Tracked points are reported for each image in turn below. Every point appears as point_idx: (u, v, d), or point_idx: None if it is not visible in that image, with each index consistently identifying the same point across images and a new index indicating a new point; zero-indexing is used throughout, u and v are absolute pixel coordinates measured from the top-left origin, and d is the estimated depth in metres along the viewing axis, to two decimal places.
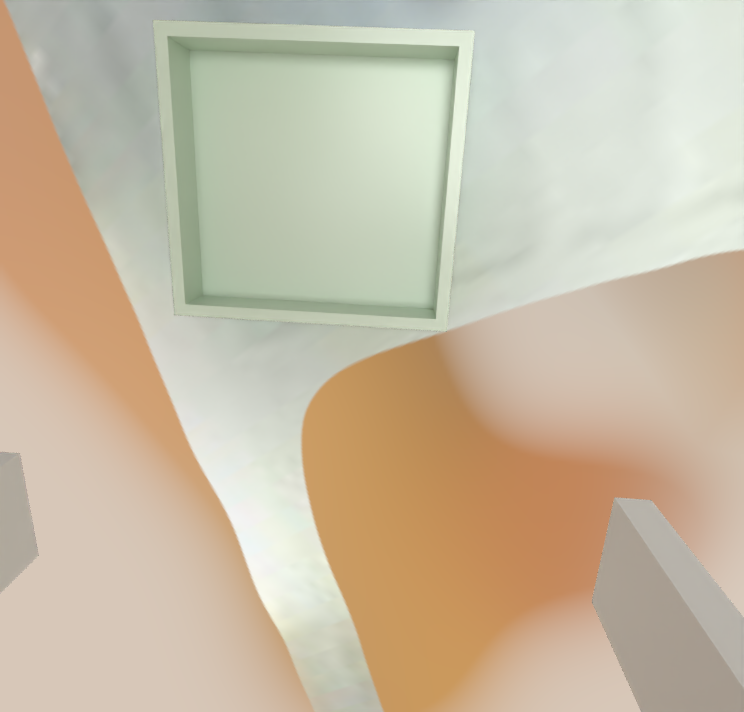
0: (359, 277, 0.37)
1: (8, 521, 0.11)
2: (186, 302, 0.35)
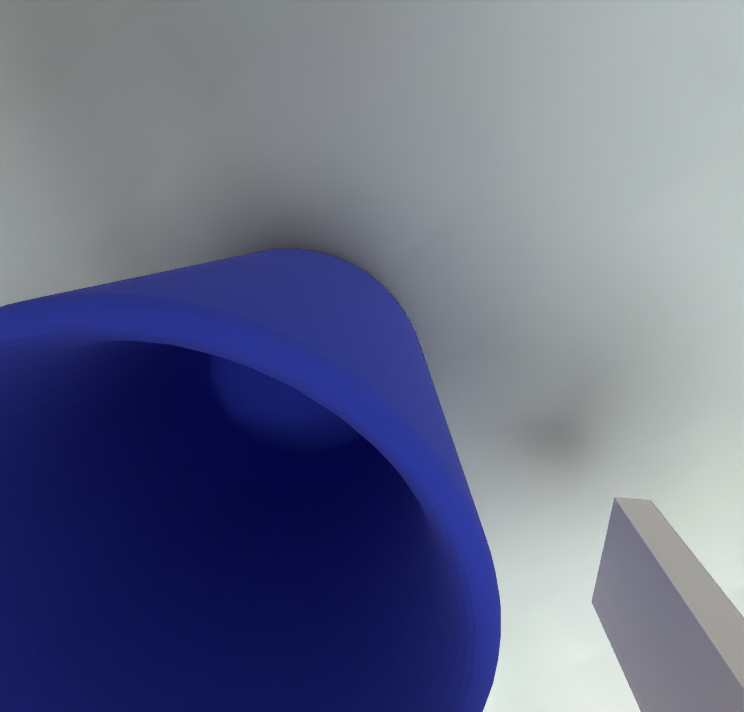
0: None
1: None
2: None
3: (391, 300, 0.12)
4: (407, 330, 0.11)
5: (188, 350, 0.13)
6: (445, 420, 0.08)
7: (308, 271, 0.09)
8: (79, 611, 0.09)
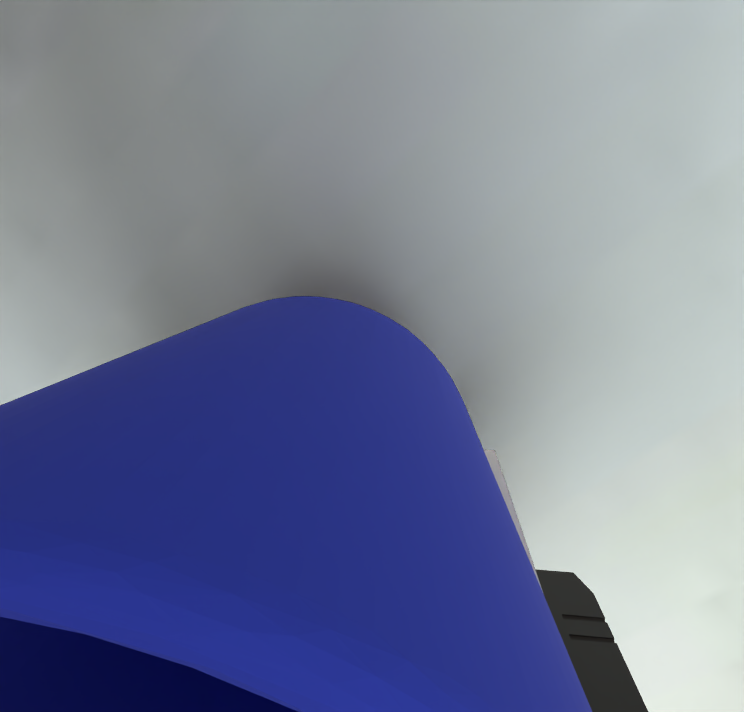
0: None
1: None
2: None
3: (441, 371, 0.09)
4: (468, 422, 0.08)
5: None
6: None
7: (344, 353, 0.07)
8: None
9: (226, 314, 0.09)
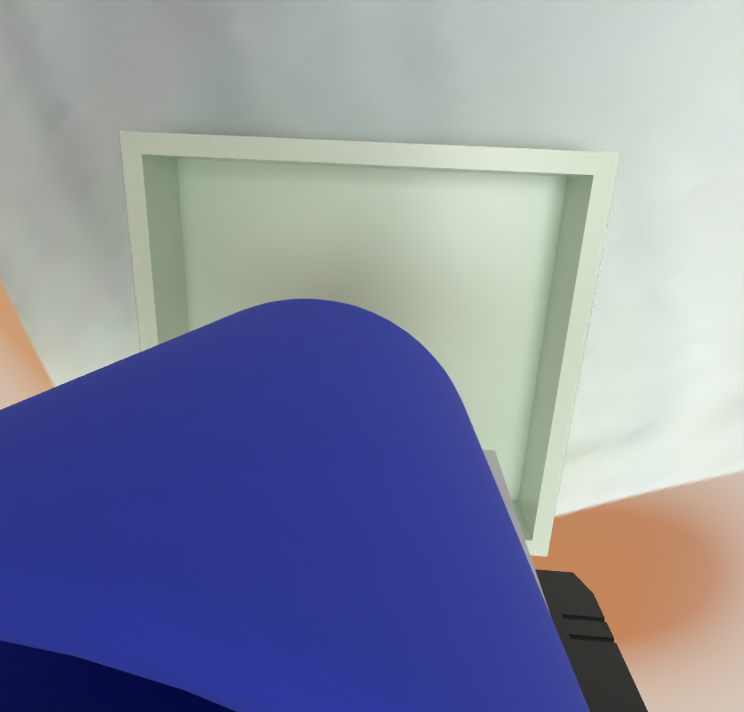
0: None
1: None
2: None
3: (441, 374, 0.09)
4: (468, 427, 0.08)
5: None
6: None
7: (344, 357, 0.06)
8: None
9: (225, 317, 0.09)
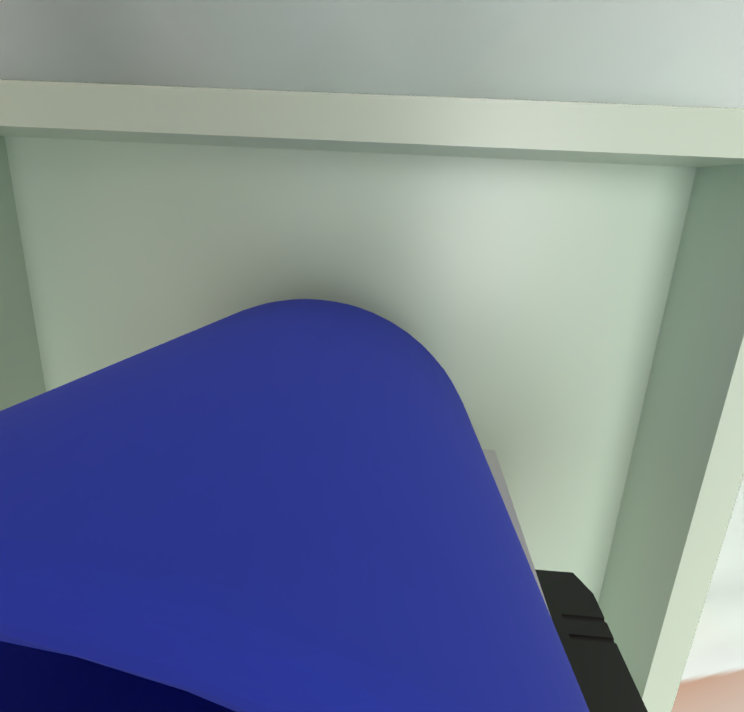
0: None
1: None
2: None
3: (441, 375, 0.09)
4: (468, 427, 0.08)
5: None
6: None
7: (344, 357, 0.06)
8: None
9: None
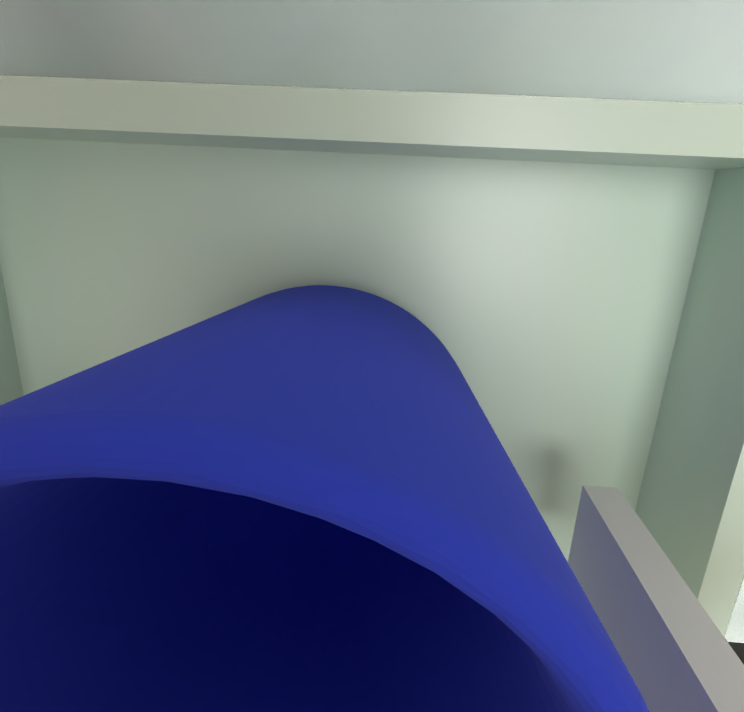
0: None
1: None
2: None
3: (447, 353, 0.11)
4: (474, 396, 0.09)
5: None
6: None
7: (372, 329, 0.07)
8: None
9: (253, 300, 0.10)
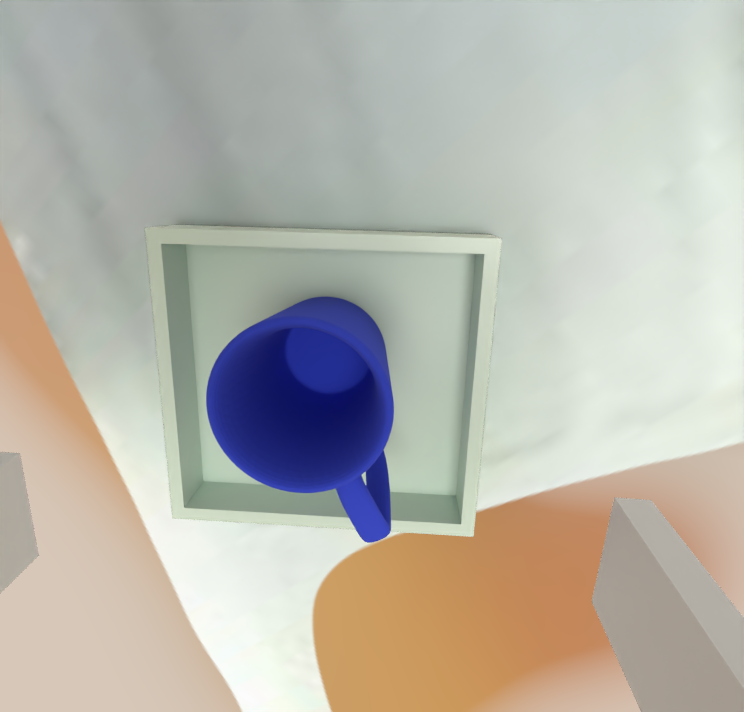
0: None
1: (8, 521, 0.11)
2: (185, 504, 0.32)
3: (371, 320, 0.29)
4: (376, 332, 0.27)
5: (280, 340, 0.29)
6: (385, 360, 0.25)
7: (339, 308, 0.26)
8: (254, 427, 0.25)
9: (300, 302, 0.28)
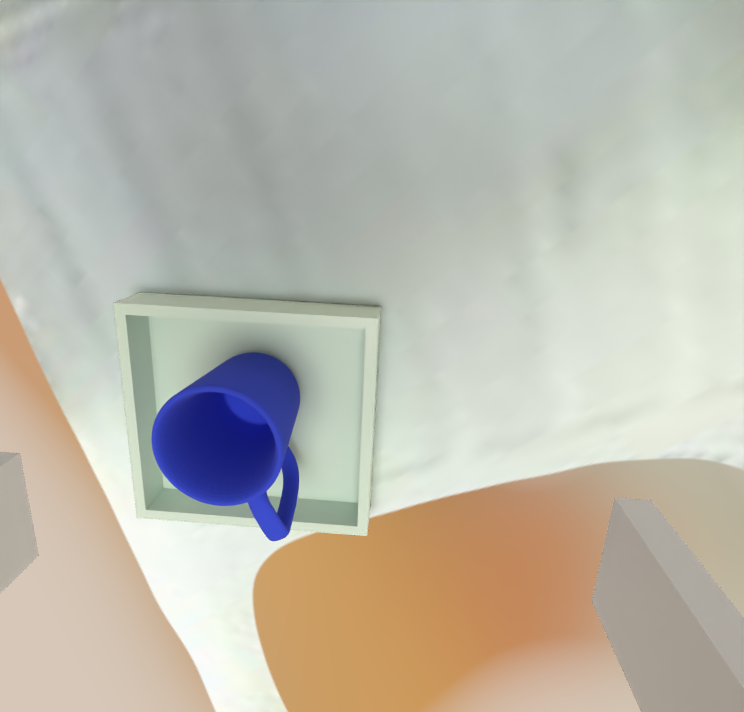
0: None
1: (8, 521, 0.11)
2: (146, 507, 0.42)
3: (285, 373, 0.38)
4: (285, 385, 0.36)
5: None
6: (285, 410, 0.34)
7: (255, 370, 0.35)
8: (190, 456, 0.34)
9: (231, 359, 0.37)
